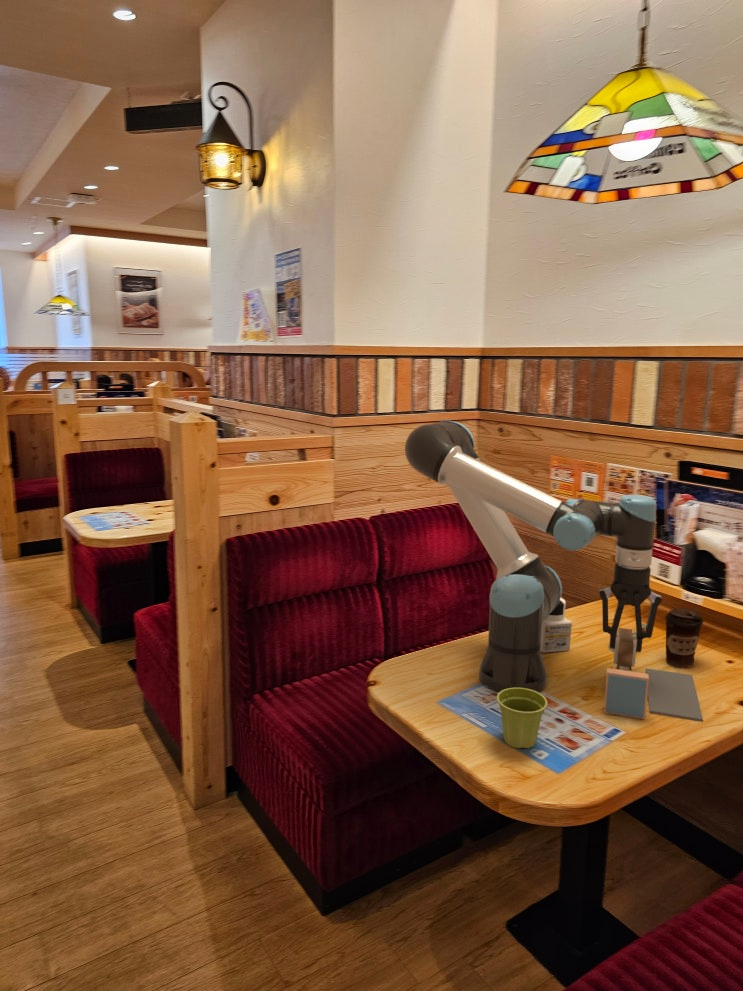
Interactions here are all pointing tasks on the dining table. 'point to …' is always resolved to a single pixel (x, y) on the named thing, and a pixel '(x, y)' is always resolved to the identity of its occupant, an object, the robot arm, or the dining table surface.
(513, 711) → the plant pot
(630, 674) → the tile
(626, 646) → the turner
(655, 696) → the mat
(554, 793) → the dining table surface
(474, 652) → the dining table surface
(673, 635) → the coffee cup
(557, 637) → the container
